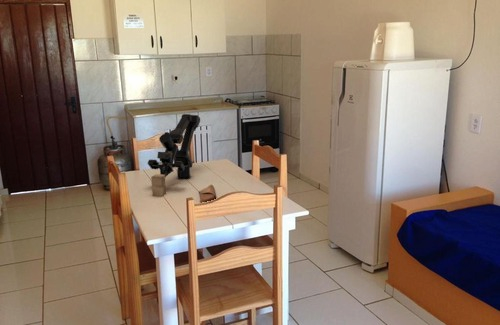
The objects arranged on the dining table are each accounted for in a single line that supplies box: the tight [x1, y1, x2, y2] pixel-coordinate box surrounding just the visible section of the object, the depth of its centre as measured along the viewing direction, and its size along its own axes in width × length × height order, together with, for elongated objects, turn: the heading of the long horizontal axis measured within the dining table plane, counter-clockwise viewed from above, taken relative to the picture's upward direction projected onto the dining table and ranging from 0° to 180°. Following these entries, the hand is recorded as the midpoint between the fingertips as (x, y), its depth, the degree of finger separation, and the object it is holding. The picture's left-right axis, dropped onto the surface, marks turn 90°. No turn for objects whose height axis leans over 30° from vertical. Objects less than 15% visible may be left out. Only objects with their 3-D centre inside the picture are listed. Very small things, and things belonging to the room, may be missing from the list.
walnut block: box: [150, 173, 167, 198], centre depth 220 cm, size 5×5×10 cm
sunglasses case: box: [198, 184, 218, 204], centre depth 218 cm, size 18×7×7 cm
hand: (161, 179), depth 223 cm, fingers closed
